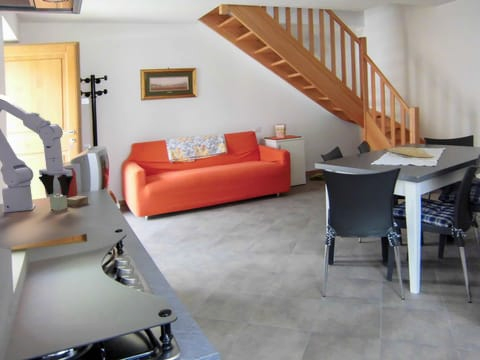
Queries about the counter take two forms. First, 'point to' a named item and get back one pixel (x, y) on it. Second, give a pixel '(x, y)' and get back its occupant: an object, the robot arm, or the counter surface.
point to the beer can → (72, 185)
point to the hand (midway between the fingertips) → (57, 194)
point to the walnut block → (77, 201)
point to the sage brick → (58, 202)
